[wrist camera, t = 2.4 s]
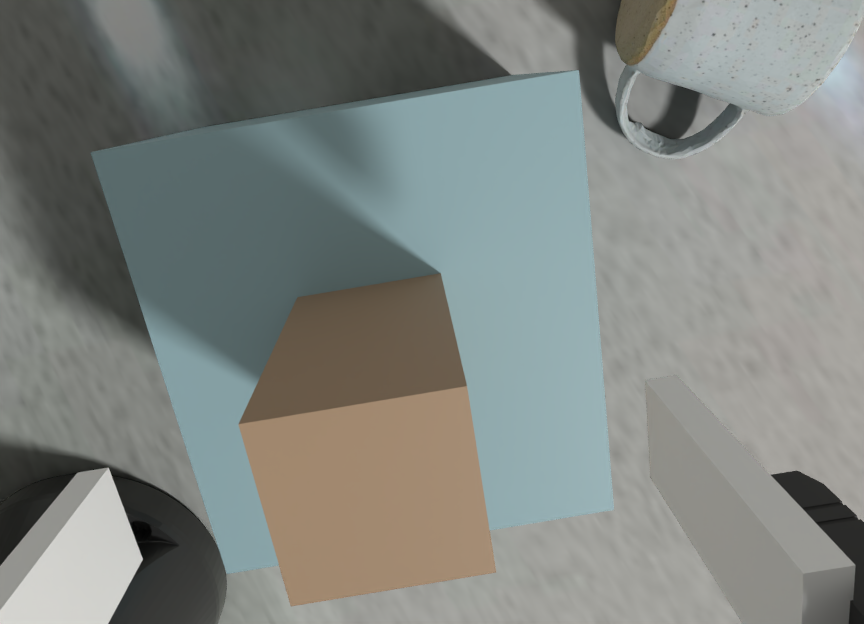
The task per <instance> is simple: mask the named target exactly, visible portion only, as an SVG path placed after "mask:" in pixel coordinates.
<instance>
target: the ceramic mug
mask: <svg viewBox="0 0 864 624" xmlns="http://www.w3.org/2000/svg"><path fill="white" fill-rule="evenodd" d="M863 17H864V0H621V4H620V8H619V13H618V17H617V24H616V32H615V43H616V47H617V51H618V54H619V56H620V58H621V60H622V61H623V62H625V63H626V64H627V65H626V66H625V68H624V70H623V72H622V74H621V76H620V79H619V83H618V88H617V93H616V98H615V104H616V114H617V119H618V122H619V125H620V127H621V130H622V132H623V133H624V135H625V136H626V138H627V139H628V140H629V142H630V143H631V144H633V145H634V146H636V148H638V149H640V150H641V151H643V152H645V153H648V154H651V155H653V156H656V157H660V158H666V159H679V158H685V157H689V156H692V155H694V154H697V153H699V152H701V151H704V150H705V149H707V148H709V147H710V146H712V145H713V144H715V143H716V142H718V141H719V140H720V139H721V138H723V137H724V136H725V135H726V134H727V133H728V132H729V131H730V130H731V129H732V128H733V127H734V126H735V125H736V124H737V123H738V122H739V120H740V119H741V118H742V117H743V116H744V115H745V113H746V112H747V111H754V112H756V113H759V114H762V115H766V116H776V115H783V114H785V113H787V112H789V111H791V110H793V109H794V108H796V107H797V106H799V105H800V104H802V103H803V102H804V101H805V100H806V99H807V98H809V97H810V96H811V95H812V94H813V93H814V92H815V91H816V90H817V89H818V88H819V87H820V86H821V85H822V84H823V83H824V81H825V80H826V79H827V77H828V76H829V75H830V73H831V72H832V71H833V69H834V68H835V67H836V65H837V64H838V62H839V61H840V59H841V58H842V56H843V55H844V54H845V52H846V50H847V49H848V47H849V45H850V43H851V41H852V40H853V38H854V36H855V34H856V32H857V30H858V28H859V26H860V24H861V21H862V19H863ZM640 73H643V74H645V75H647V76H650V77H652V78H655V79H658V80H661V81H664V82H668V83H671V84H674V85H678V86H681V87H685V88H688V89H691V90H694V91H697V92H700V93H702V94H705V95H707V96H710V97H713V98H715V99H718V100H721V101H725V102H728V103H730V104H729V105H728V106H727V107H726V109H725V110H724V111H723V112H722V113H721V114H720V115H719V116H718V117H717V118H716V119H715V120H714V121H713V122H712V123H711V124H709V125H708V126H707V127H706V128H705V129H704V130H702V131H700V132H698V133H696V134H694V135H693V136H690V137H687V138H685V139H669V138H666V137H664V136H661V135H659V134H656V133H653V132H651V131H649V130H647V129H646V128H644V127H643V125H642V124H641V123H638V122H635V123H633V122H631V121H629V120H628V114H627V106H626V105H627V102H628V98H629V95H630V91H631V87H632V86H633V84H634V81H635V78H636V77H637V75H638V74H640Z"/></svg>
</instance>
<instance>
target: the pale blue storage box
mask: <svg viewBox="0 0 864 624" xmlns="http://www.w3.org/2000/svg"><path fill="white" fill-rule="evenodd" d="M91 155H92V158H93V162H94V165H95V168H96V171H97V174H98V177H99V180H100V183H101V186H102V189H103V192H104V196H105V199H106V202H107V205H108V208H109V211H110V214H111V217H112V220H113V223H114V226H115V230H116V233H117V236H118V239H119V242H120V245H121V248H122V251H123V254H124V257H125V260H126V264H127V267H128V270H129V273H130V276H131V279H132V282H133V285H134V288H135V291H136V295H137V298H138V301H139V304H140V307H141V310H142V313H143V316H144V319H145V322H146V325H147V329H148V332H149V335H150V338H151V341H152V344H153V347H154V350H155V353H156V356H157V359H158V363H159V366H160V369H161V372H162V375H163V378H164V381H165V384H166V387H167V390H168V393H169V397H170V400H171V403H172V406H173V409H174V412H175V415H176V418H177V421H178V424H179V428H180V431H181V434H182V437H183V440H184V443H185V446H186V449H187V452H188V455H189V458H190V462H191V465H192V468H193V471H194V474H195V477H196V480H197V483H198V486H199V489H200V492H201V496H202V499H203V502H204V505H205V508H206V511H207V514H208V517H209V520H210V523H211V526H212V530H213V533H214V536H215V539H216V542H217V545H218V548H219V551H220V554H221V557H222V560H223V564H224V567H225V570H226V573H227V574H230V573H236V572H242V571H248V570H254V569H260V568H266V567H272V566H278V565H279V567H280V570H281V574H282V577H283V581H284V584H285V587H286V591H287V594H288V598H289V601H290V605H291V606H296V605H302V604H308V603H314V602H320V601H326V600H332V599H338V598H344V597H350V596H356V595H363V594H369V593H375V592H381V591H387V590H393V589H399V588H405V587H411V586H417V585H423V584H429V583H435V582H441V581H447V580H453V579H459V578H465V577H471V576H477V575H483V574H489V573H495V572H496V568H495V562H494V555H493V549H492V542H491V536H490V530H495V529H501V528H507V527H513V526H519V525H525V524H531V523H537V522H543V521H549V520H555V519H561V518H567V517H573V516H579V515H585V514H591V513H598V512H604V511H610V510H614V504H613V491H612V479H611V466H610V454H609V441H608V429H607V416H606V404H605V391H604V379H603V366H602V354H601V341H600V328H599V316H598V303H597V291H596V278H595V266H594V253H593V241H592V228H591V216H590V203H589V191H588V178H587V166H586V153H585V141H584V128H583V116H582V103H581V91H580V78H579V70H574V71H560V72H547V73H534V74H521V75H510V76H504V77H498V78H492V79H486V80H480V81H474V82H468V83H462V84H456V85H450V86H445V87H439V88H433V89H427V90H421V91H415V92H409V93H403V94H397V95H391V96H385V97H379V98H373V99H367V100H361V101H356V102H350V103H344V104H338V105H332V106H326V107H320V108H314V109H308V110H302V111H296V112H290V113H284V114H278V115H272V116H267V117H261V118H255V119H249V120H243V121H237V122H231V123H225V124H219V125H213V126H207V127H202V128H197V129H193V130H188V131H184V132H179V133H175V134H170V135H166V136H161V137H157V138H152V139H148V140H144V141H139V142H135V143H130V144H126V145H121V146H117V147H112V148H108V149H103V150H99V151H94V152H91Z"/></svg>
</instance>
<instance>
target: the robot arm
mask: <svg viewBox="0 0 864 624" xmlns="http://www.w3.org/2000/svg"><path fill="white" fill-rule="evenodd" d="M645 390H646V408H647V426H648V443H649V461H650V478H651V479H652V481H653V482H654V484H655V485H656V487H657V489H658V490H659V492H660V493H661V495H662V497H663V498H664V500H665V501H666V503H667V504H668V506H669V508H670V509H671V511H672V512H673V514H674V516H675V517H676V519H677V520H678V522H679V524H680V525H681V527H682V528H683V530H684V531H685V533H686V535H687V536H688V538H689V539H690V541H691V543H692V544H693V546H694V547H695V549H696V550H697V552H698V554H699V555H700V557H701V558H702V560H703V562H704V563H705V565H706V566H707V568H708V570H709V571H710V573H711V574H712V576H713V577H714V579H715V581H716V582H717V584H718V585H719V587H720V589H721V590H722V592H723V593H724V595H725V596H726V598H727V600H728V601H729V603H730V604H731V606H732V608H733V609H734V611H735V612H736V614H737V616H738V617H739V619H740V620H741V622H742V623H743V624H864V522H863V521H862V520H861V519H860V520H858V518H857V515H856V514H854V513H853V512H852V511H851V510H850V509H849V508H848V507H847V506H846V505H843V504H842V501H841V500H840V499H839V498H838V497H837V496H836V495H835V494H833V493H832V492H831V491H830V490H829V489H828V488H827V487H826V486H825V485H824V484H822V483H820V482H819V481H817V480H815V479H813V478H811V477H809V476H807V475H805V474H803V473H801V472H799V471H792V472H786V473H780V474H773V475H770V474H769V473H768V472H767V471H766V470H765V468H764V467H763V466H762V465H761V464H760V463H759V462H758V461H757V460H756V459H755V458H754V457H753V456H752V455H751V454H750V453H749V451H748V450H747V449H746V448H745V447H744V446H743V445H742V444H741V443H740V442H739V441H738V440H737V439H736V438H735V437H734V435H733V434H732V433H731V432H730V431H729V430H728V429H727V428H726V427H725V426H724V425H723V424H722V423H721V422H720V421H719V420H718V418H717V417H716V416H715V415H714V414H713V413H712V412H711V411H710V410H709V409H708V408H707V407H706V406H705V405H704V404H703V403H702V401H701V400H700V399H699V398H698V397H697V396H696V395H695V394H694V393H693V392H692V391H691V390H690V389H689V388H688V387H687V386H686V384H685V383H684V382H683V381H682V380H681V379H680V378H679V377H678V376H677V375H673V376H667V377H660V378H654V379H648V380H645ZM226 589H227V580H226V572H225V567H224V564H223V560H222V557H221V554H220V551H219V549H218V547H217V545H216V543H215V541H214V540H213V538H212V536H211V535H210V533H209V532H208V531H207V529H206V528H205V527H204V526H203V524H202V523H201V522H200V521H199V520H198V519H197V518H196V517H195V516H194V515H193V514H192V513H191V512H190V511H189V510H187V509H186V508H185V507H184V506H182V505H181V504H180V503H178V502H177V501H175V500H174V499H172V498H171V497H169V496H167V495H166V494H164V493H162V492H160V491H158V490H156V489H154V488H151V487H149V486H147V485H144V484H141V483H138V482H135V481H132V480H128V479H124V478H120V477H115V476H112V475H111V473H110V470H109V468H103V469H97V470H90V471H84V472H78V473H77V474H73V475H65V476H59V477H54V478H50V479H46V480H42V481H40V482H37V483H34V484H32V485H29V486H27V487H25V488H23V489H21V490H19V491H18V492H16V493H15V494H13V495H12V496H10V497H9V498H8V499H6V500H5V501H4V502H3V503H2V504H0V624H218V621H219V618H220V615H221V612H222V609H223V606H224V602H225V597H226Z"/></svg>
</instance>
